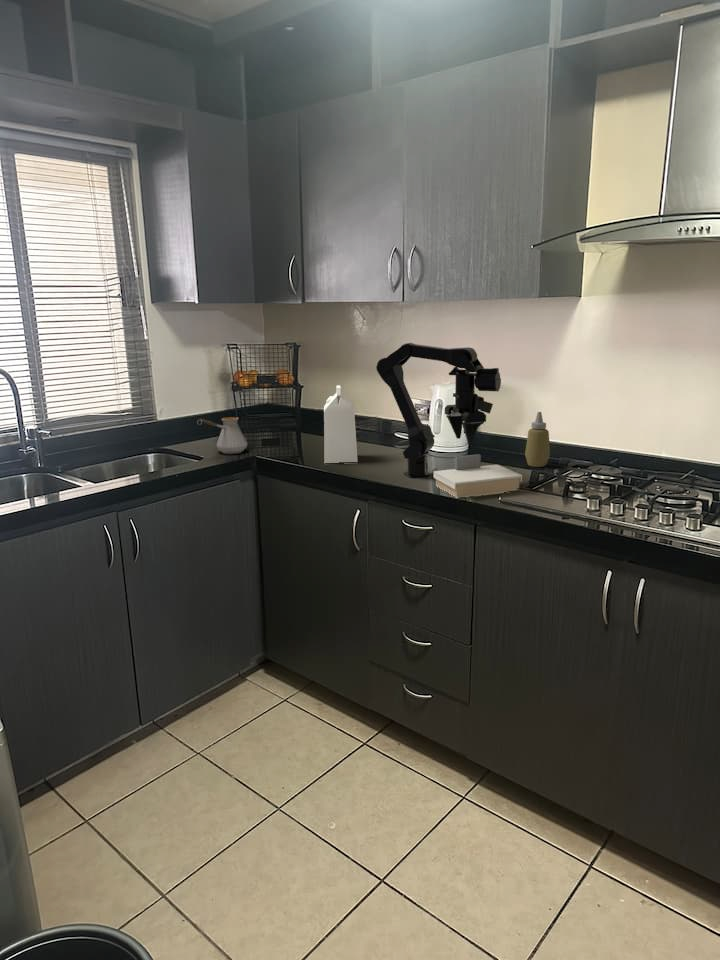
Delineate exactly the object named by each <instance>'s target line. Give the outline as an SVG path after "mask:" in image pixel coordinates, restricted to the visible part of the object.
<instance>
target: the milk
mask: <svg viewBox="0 0 720 960" xmlns="http://www.w3.org/2000/svg"><path fill="white" fill-rule="evenodd" d="M335 387H336V390H335V391H336V392H335V394H333V396H332V395H330V396H329V397H328V398H327V399H326V401H325V405H323V423H324V424H323V426H324V427H323V433H324V434H323V435H324V438H323V439H324V441H323V442H324V445H323V447H324V452H323V453H324V454H323V455H324V459H323V460H324V461H323V462H324V464H325V463H339V462H358V449H357V448H358V447H357V433H356V431H357V430H356V417H355V415H356V414H355V407H354V405H353V403H351V402H350V400H348V398H346V397H345V396H344V395H343V394H342V391H341V389H342V388H341V385H336V386H335ZM358 463H359V462H358Z"/></svg>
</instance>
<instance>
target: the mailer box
mask: <svg viewBox="0 0 720 960" xmlns="http://www.w3.org/2000/svg"><path fill="white" fill-rule="evenodd" d="M436 486H437V487H436ZM435 487H436V488H438V487H439V488H440V490H441V489H442V490H441V491H443V490H444V491H443V492H445V491H446V492H448V493H449V495H450V494H451V495H450V496H452V495H453V496H455V497H456V498H455V497H454V498H455V499H457V498H458V499H460V498H459V497H466V498H470V497H469V496H474V497H482V495H483V496H489V495H490V496H491V495H497V494H498V495H499V494H505V493H504V492H507V491H510V490H512V489H516V488H519V489H520V481H519V478H511V479H502V480H494V481H485V482H476V483H467V484H459V485H456V489H453V488H451V487H449V486H448V485H446V484H444V483H442V482H441V481H439V480H437V479H435ZM439 488H438V489H439ZM446 492H445V493H446ZM448 493H447V494H448ZM507 493H508V492H507ZM453 496H452V497H453Z"/></svg>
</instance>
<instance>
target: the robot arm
mask: <svg viewBox="0 0 720 960" xmlns="http://www.w3.org/2000/svg"><path fill="white" fill-rule="evenodd" d="M411 358H419V359H426V360H430V361H431V360H432V361H438V362H443V363H446V364H448V365H449V366H452V369H451V371H450V372H448V375H449V376H455V387H454V388H455V392H453V393H452V397H453V398H455V399H454V401H455V402H454V404H446V406H445V407H444V415H445V416H446V418H447V420H448V422H449V424H450V427H451V428H452V430H453V433H454V435H455V437H456V439H459V440H460V439H461V436H462V430H463V431H464V435H465V438H466V440H467V444H468V445H472V444H473V443H474V439H475V437H476V433H477V431H478V428H479V427H480V426H481V425H484V423H486V422H487V415H486V414H489V415H490V414H491V411H492V408H493V405H494V404H493V403H492V402H490V401H489V402H488V401H485V399H484V397H483V396H480V395H478V394H477V393H475V390H476V389H477V390H478V391H479V392H499V391H500V389H501V386H502V385H501V384H502V378H501V373H500V369H499V367H494V368H485V367H484V366H483V364H482V363H481V361H480V360H479V359H478V354H477V351H476V350H475V348H473V347H456V348H455V347H451V348H444V347H439V346H438V347H437V346H431V345H423V344H416V343H413V342H407V343H403V344H402V345H401V346H400V347H399V348H397V349H396V350H395V351H394V352H392V353H390V354H389V355H388V356H386V357H383V358H380V359H379V360H378V362H377V365H376V371H377V373H378V375H379V376H380V378H381V380H382V381H383V382H384V383H385V384H386V385H387V386H388V387H389V388H390V390H391V393H392V396H393V398H394V401H395V403H396V404H397V407H398V409H399V411H400V414H401V416H402V418H403V421H404V423H405V425H406V428H407V440H408V443H409V445H408V447H406V449H404V450H403V451H402V454H403V457H404V459H407V471H403V475H405V474H406V476H407V477H409V478H412V479H413V478H421V477H422V478H423V477H430V474H429V473H428V472H426V455H428V454H429V452H430V450H431V449H433V447H434V444H435V437H436V436H435V434H433V431H432V428H431V425H427V426H425V425H424V424H423V423H422V421H421V419H420V416H419V414H418V412H417V410H416V407H415V404H414V403H413V400H412V398H411V395H410V393H409V391H408V389H407V386H406V384H405V381H404V370H403V366H404V365H405V364H406V363H407V362H408V361H409V359H411ZM485 413H486V414H485Z"/></svg>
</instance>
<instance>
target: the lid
mask: <svg viewBox="0 0 720 960" xmlns="http://www.w3.org/2000/svg"><path fill="white" fill-rule="evenodd" d="M454 457H455V458H454V464H455V465H454V468H450V469H444V470H443V469H442V470H434V471H433V478H434V479H435V480H436V479H437V480H439V481H441V482H442V483H444V484H446V485H448V486H449V487H451V488H453V489H456V485H459V484H467V483H476V482H485V481H494V480H502V479H511V478H519V483H523V475H522V474H520V473H518V472H516V471H513V470H511V469H508V468H506V467H504V466H501V465H499V464H489V465H481V459H482V456H481V454H469V455H460V456H459V455H458V456H454Z"/></svg>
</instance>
